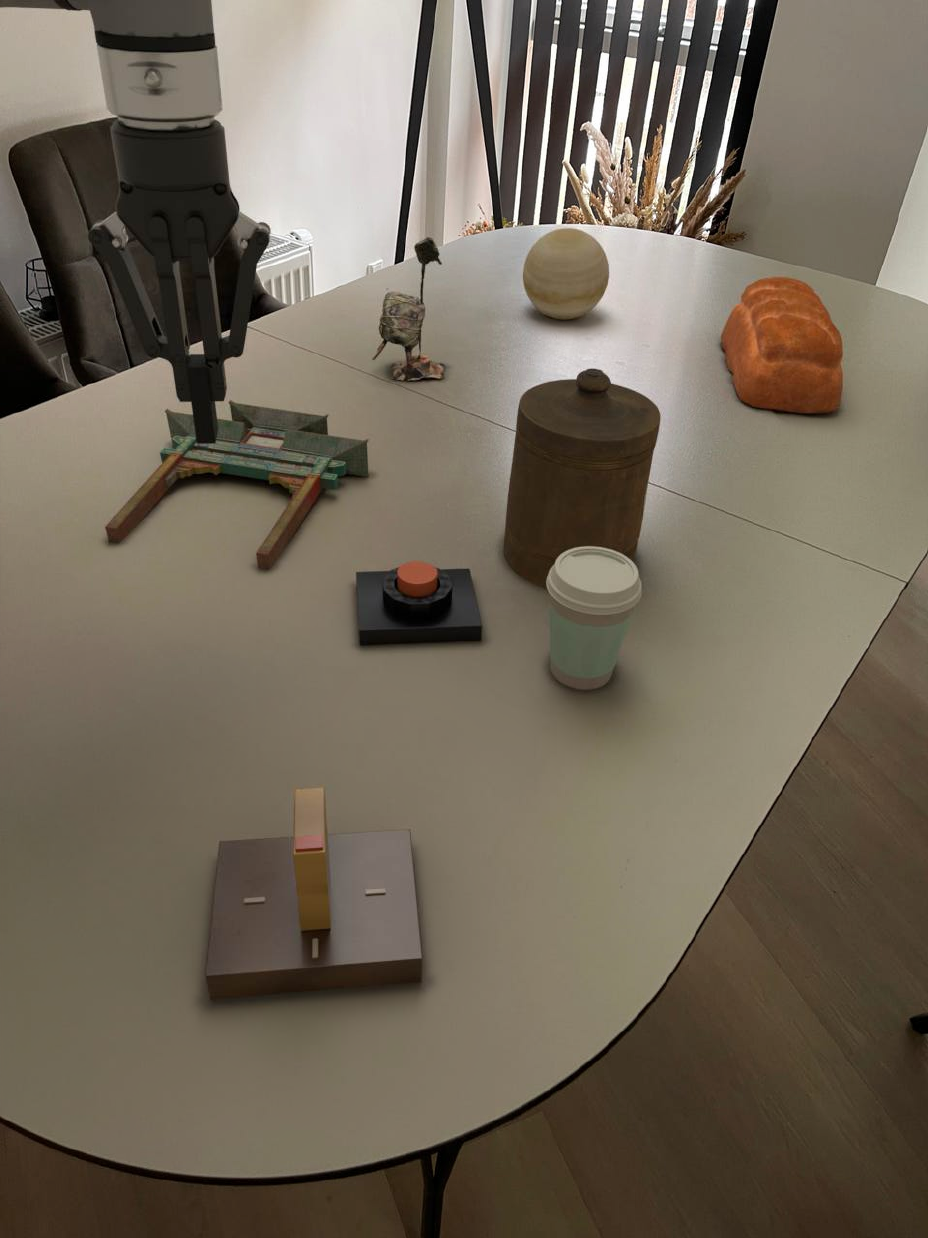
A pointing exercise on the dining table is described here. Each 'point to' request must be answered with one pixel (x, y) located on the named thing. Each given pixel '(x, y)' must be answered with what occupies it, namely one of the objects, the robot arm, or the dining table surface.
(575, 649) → the coffee cup
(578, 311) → the decorative ball
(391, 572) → the button block
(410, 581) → the bell button
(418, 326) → the bird figurine
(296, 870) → the lock knob
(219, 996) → the plate
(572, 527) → the wooden container
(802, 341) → the bread
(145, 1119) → the dining table surface
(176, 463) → the miniature gate
